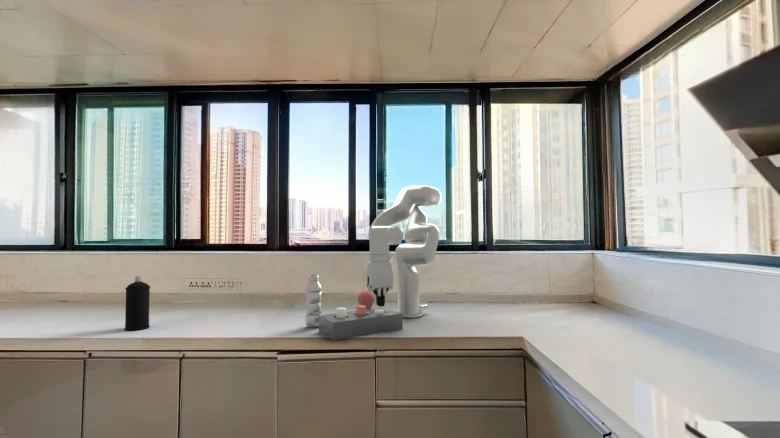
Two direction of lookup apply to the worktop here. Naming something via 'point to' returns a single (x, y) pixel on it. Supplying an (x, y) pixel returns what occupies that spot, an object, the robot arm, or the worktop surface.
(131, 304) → the aerosol can
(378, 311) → the cream plug
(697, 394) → the worktop surface
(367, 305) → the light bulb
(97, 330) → the worktop surface
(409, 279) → the robot arm
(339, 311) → the cream plug
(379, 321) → the panel
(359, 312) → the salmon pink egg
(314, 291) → the plastic bottle
